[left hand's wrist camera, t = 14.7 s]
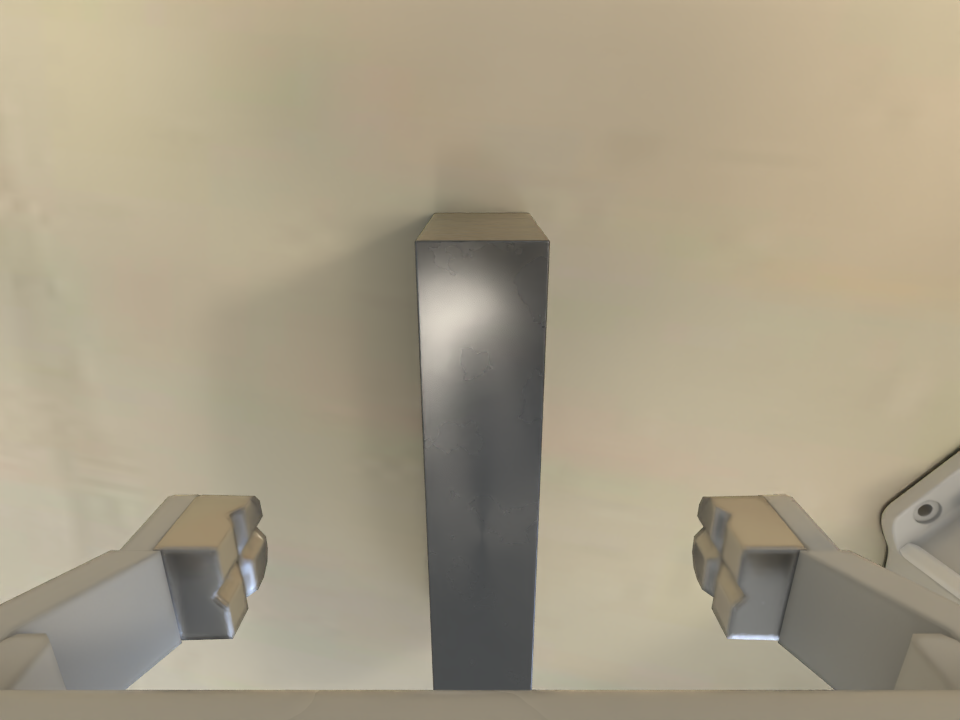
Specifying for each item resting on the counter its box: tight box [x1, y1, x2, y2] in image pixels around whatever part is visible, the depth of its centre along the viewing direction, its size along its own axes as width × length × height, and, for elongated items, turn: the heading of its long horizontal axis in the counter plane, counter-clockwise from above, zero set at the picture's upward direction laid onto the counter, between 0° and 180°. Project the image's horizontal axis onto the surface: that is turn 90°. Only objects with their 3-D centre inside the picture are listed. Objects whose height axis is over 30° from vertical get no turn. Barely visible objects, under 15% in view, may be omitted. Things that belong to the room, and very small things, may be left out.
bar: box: [415, 213, 550, 690], centre depth 30 cm, size 26×5×10 cm, turn 0°
